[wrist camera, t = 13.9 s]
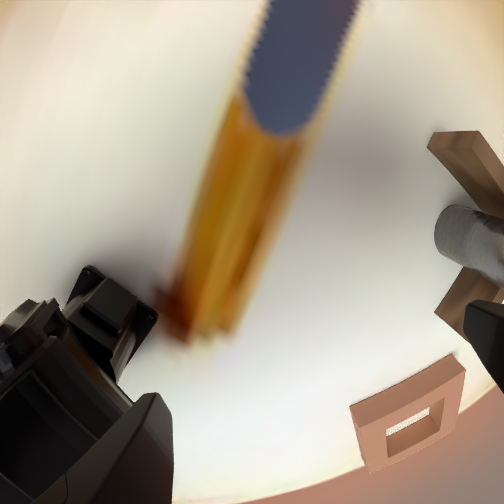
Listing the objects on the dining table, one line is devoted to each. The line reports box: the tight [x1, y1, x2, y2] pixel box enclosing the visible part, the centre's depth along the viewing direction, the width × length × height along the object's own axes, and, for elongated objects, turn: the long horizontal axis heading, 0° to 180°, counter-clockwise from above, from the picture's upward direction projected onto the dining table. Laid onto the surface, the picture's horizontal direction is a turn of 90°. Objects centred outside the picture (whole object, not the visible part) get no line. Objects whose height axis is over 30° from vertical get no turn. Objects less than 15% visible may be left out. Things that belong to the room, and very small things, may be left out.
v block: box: [427, 131, 504, 343], centre depth 18 cm, size 10×16×5 cm, turn 13°
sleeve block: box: [349, 354, 466, 475], centre depth 25 cm, size 12×12×3 cm
